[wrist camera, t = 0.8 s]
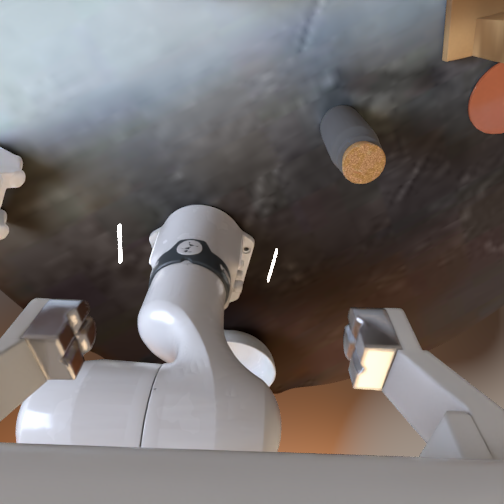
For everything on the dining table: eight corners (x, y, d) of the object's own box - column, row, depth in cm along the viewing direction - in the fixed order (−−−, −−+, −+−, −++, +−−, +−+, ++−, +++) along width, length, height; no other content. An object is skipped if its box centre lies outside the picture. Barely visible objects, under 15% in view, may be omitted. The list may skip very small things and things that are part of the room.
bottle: (368, 120, 50) (402, 157, 38) (341, 153, 53) (364, 197, 41) (338, 95, 48) (363, 126, 36) (311, 131, 51) (326, 171, 39)
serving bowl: (192, 375, 87) (187, 401, 81) (178, 316, 75) (171, 342, 69) (275, 375, 86) (276, 401, 80) (274, 315, 74) (275, 341, 68)
